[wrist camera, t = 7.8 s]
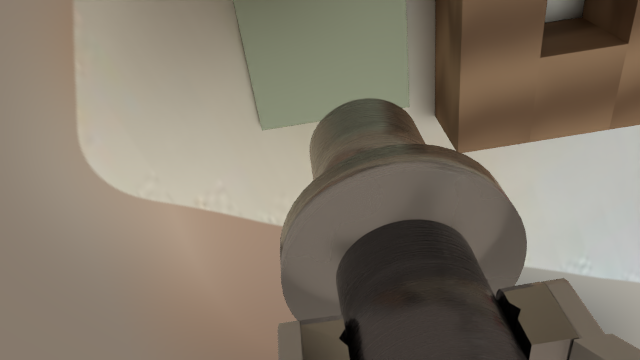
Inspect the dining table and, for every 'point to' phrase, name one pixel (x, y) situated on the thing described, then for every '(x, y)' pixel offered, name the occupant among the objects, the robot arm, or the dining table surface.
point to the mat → (322, 55)
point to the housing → (534, 71)
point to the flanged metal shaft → (401, 242)
